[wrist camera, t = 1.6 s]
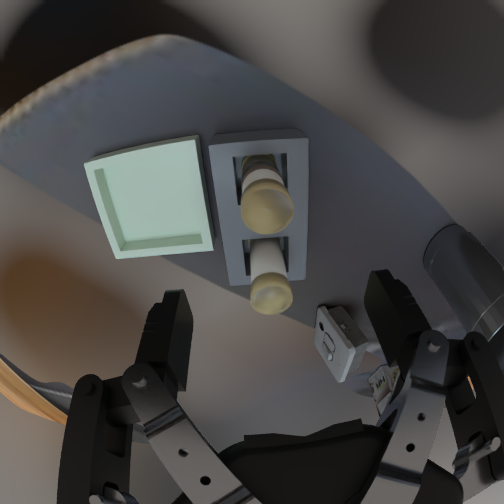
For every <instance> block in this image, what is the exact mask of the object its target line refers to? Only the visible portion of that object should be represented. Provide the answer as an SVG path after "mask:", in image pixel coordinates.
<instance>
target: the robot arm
mask: <svg viewBox="0 0 504 504" xmlns="http://www.w3.org/2000/svg"><path fill="white" fill-rule="evenodd" d="M424 267H425V269H426V271H427V272H428V274H429V275H430V276H431V278H432V279H433V281H434V282H435V283H436V285H437V287H438V288H439V290H440V291H441V292H442V294H443V295H444V297H445V298H446V300H447V302H448V303H449V305H450V306H451V308H452V309H453V311H454V313H455V314H456V316H457V317H458V319H459V321H460V322H461V324H462V326H463V327H464V329H465V331H466V333H467V335H466V336H465V337H464V339H463V340H457V339H447V338H446V336H445V335H444V334H443V333H442V332H440V331H438V330H434V329H432V328H431V326H430V325H429V323H428V321H427V319H426V317H425V316H424V314H423V312H422V310H421V309H420V307H419V305H418V304H417V303H416V300H415V299H414V297H412V294H411V292H410V290H409V289H408V287H407V286H406V285H405V284H404V283H402V282H401V281H400V280H399V279H397V280H395V279H394V278H393V276H392V274H391V273H390V271H389V270H387V269H385V270H377V271H372V272H371V273H370V275H369V280H368V284H367V288H366V292H365V296H364V306H365V310H366V312H367V314H368V317H369V319H370V321H371V324H372V326H373V328H374V331H375V333H376V335H377V338H378V340H379V343H380V345H381V348H382V350H383V353H384V355H385V358H386V361H387V363H388V366H389V368H391V367H395V366H398V367H399V370H400V371H399V372H398V375H397V377H396V380H395V383H394V386H393V389H392V391H391V394H390V397H389V399H388V402H387V404H386V407H385V409H384V411H383V413H382V414H381V416H380V418H379V420H378V421H377V423H376V425H375V426H373V425H367V424H362V421H361V419H357V420H352V421H348V422H343V423H338V424H334V425H332V426H330V427H327V428H325V429H323V430H320V431H318V432H315V433H313V434H310V435H308V436H293V435H284V434H275V433H271V434H258V435H244V441H242V442H238V443H236V444H233V445H231V446H230V447H227V448H226V449H224V450H223V451H222V452H220V453H218V452H217V451H216V450H215V449H214V448H213V446H212V445H211V444H210V443H209V442H208V440H207V439H206V438H205V437H204V436H203V435H202V433H201V432H200V431H199V430H198V428H197V427H196V426H195V425H194V423H193V422H192V421H191V419H190V418H189V417H188V415H187V414H186V413H185V411H184V410H183V409H182V407H181V406H180V404H179V403H178V402H177V392H178V391H186V383H187V375H188V366H189V357H190V349H191V341H192V333H193V315H192V312H191V309H190V306H189V303H188V300H187V297H186V294H185V291H184V290H183V289H181V290H180V289H179V290H166V291H165V293H164V298H163V301H162V303H155V304H154V306H153V307H152V308H151V310H150V311H149V312H148V316H147V319H146V324H145V326H144V332H143V333H142V337H141V341H140V344H139V348H138V352H137V356H136V360H135V363H134V364H133V365H131V366H129V367H128V368H127V369H126V370H125V371H124V373H123V375H122V376H119V377H115V378H111V379H107V380H103V381H102V380H101V379H100V378H99V377H98V376H96V375H94V374H88V375H85V376H83V377H81V378H80V379H79V380H78V382H77V383H76V385H75V388H74V392H73V396H72V400H71V404H70V409H69V413H68V418H67V423H66V428H65V433H64V440H63V445H62V452H61V459H60V467H59V477H58V490H57V504H139V502H138V501H137V499H136V498H135V497H134V496H132V495H131V494H129V480H130V479H129V478H130V459H131V458H130V457H131V444H132V432H133V423H137V422H142V424H143V426H144V428H145V430H144V434H145V436H146V438H147V440H148V441H149V443H150V444H151V446H152V448H153V449H154V451H155V452H156V454H157V455H158V457H159V458H160V460H161V461H162V463H163V464H164V466H165V467H166V469H167V470H168V471H169V473H170V474H171V476H172V477H173V478H174V480H175V481H176V482H177V484H178V485H179V486H180V488H181V489H182V490H183V492H182V494H181V495H180V496H179V497H178V498H177V499H176V500H175V501H174V502H173V503H172V504H463V502H464V501H466V500H468V499H470V498H471V497H473V496H475V495H476V494H478V493H479V492H481V491H483V490H484V489H486V488H487V487H489V486H490V485H491V484H494V483H496V482H499V481H501V480H504V268H503V266H502V265H501V264H500V263H499V262H498V261H497V260H496V259H495V257H494V256H493V255H492V254H491V253H490V252H489V251H488V250H487V249H486V248H485V247H484V246H483V245H482V244H481V242H479V240H478V239H477V238H476V237H475V236H474V235H473V234H471V232H467V231H466V230H465V229H464V228H463V227H462V226H460V225H451V226H448V227H446V228H444V229H443V230H441V231H440V232H439V233H438V234H437V235H436V236H435V237H434V238H433V239H432V241H431V242H430V244H429V246H428V247H427V250H426V252H425V256H424ZM468 376H469V377H470V379H471V382H472V384H473V387H474V390H475V392H476V399H475V397H474V394H473V391H472V388H471V386H470V383H469V381H468V378H467V377H468ZM444 404H446V407H447V410H448V414H449V417H450V420H451V424H452V428H453V431H454V435H455V439H456V443H457V447H458V452H457V454H456V456H455V459H454V461H453V463H452V467H453V469H454V473H453V474H451V473H449V472H448V471H446V470H445V469H443V468H442V467H440V466H438V465H437V464H435V463H434V462H432V461H431V460H429V459H428V457H429V454H430V451H431V448H432V445H433V442H434V439H435V436H436V433H437V430H438V426H439V423H440V419H441V415H442V411H443V408H444Z"/></svg>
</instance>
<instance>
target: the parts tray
mask: <svg viewBox="0 0 504 504" xmlns="http://www.w3.org/2000/svg"><path fill="white" fill-rule="evenodd" d="M84 166H85V170H86V173H87V177H88V180H89V184H90V187H91V190H92V194H93V197H94V200H95V203H96V206H97V209H98V212H99V215H100V218H101V221H102V224H103V226H104V229H105V232H106V234H107V237H108V240H109V242H110V245H111V247H112V250H113V252H114V255H115V257H116V259H121V258H132V257H144V256H154V255H166V254H178V253H189V252H201V251H213V250H214V244H215V233H214V227H213V222H212V216H211V210H210V204H209V198H208V192H207V185H206V179H205V172H204V166H203V159H202V152H201V146H200V138H199V135H193V136H186V137H180V138H174V139H169V140H163V141H158V142H153V143H148V144H143V145H139V146H134V147H130V148H126V149H121V150H117V151H113V152H109V153H106V154H102V155H98V156H95V157H93V158H92V159H90V160H89V161H87V162H86V163H84Z"/></svg>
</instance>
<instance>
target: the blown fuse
mask: <svg viewBox="0 0 504 504" xmlns="http://www.w3.org/2000/svg"><path fill="white" fill-rule="evenodd" d="M241 174H242V197H241V217H242V220H243V222H244V223H245V225H246V226H247V227H248V228H249V229H250V230H252V231H254V232H256V233H259V234H274V233H277V232H279V231H281V230H283V229H284V228H285V227H287V225H288V224H289V223H290V222H291V220H292V217H293V214H294V206H293V203H292V200H291V198H290V195H289V192H288V190H287V189H286V187H285V186H284V182H283V179H282V177H281V174H280V172H279V170H278V165H277V163H276V160H275V158H274V156H273V155H272V154H262V155H249V156H244V158H243V160H242V163H241Z"/></svg>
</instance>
